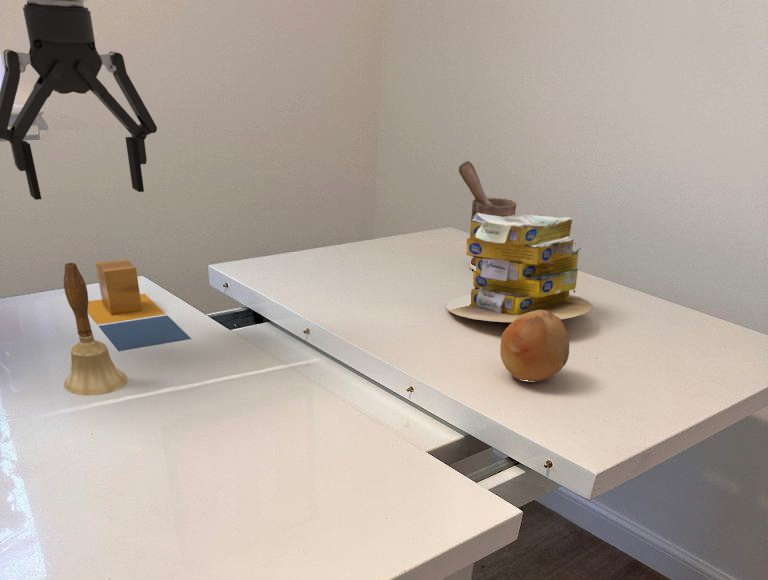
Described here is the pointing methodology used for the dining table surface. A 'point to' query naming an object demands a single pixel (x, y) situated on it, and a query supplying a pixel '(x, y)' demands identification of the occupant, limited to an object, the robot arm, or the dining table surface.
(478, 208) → the mortar and pestle
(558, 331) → the onion
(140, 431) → the dining table surface
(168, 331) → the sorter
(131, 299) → the block
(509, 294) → the stacked boxes on plate
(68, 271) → the hand bell
